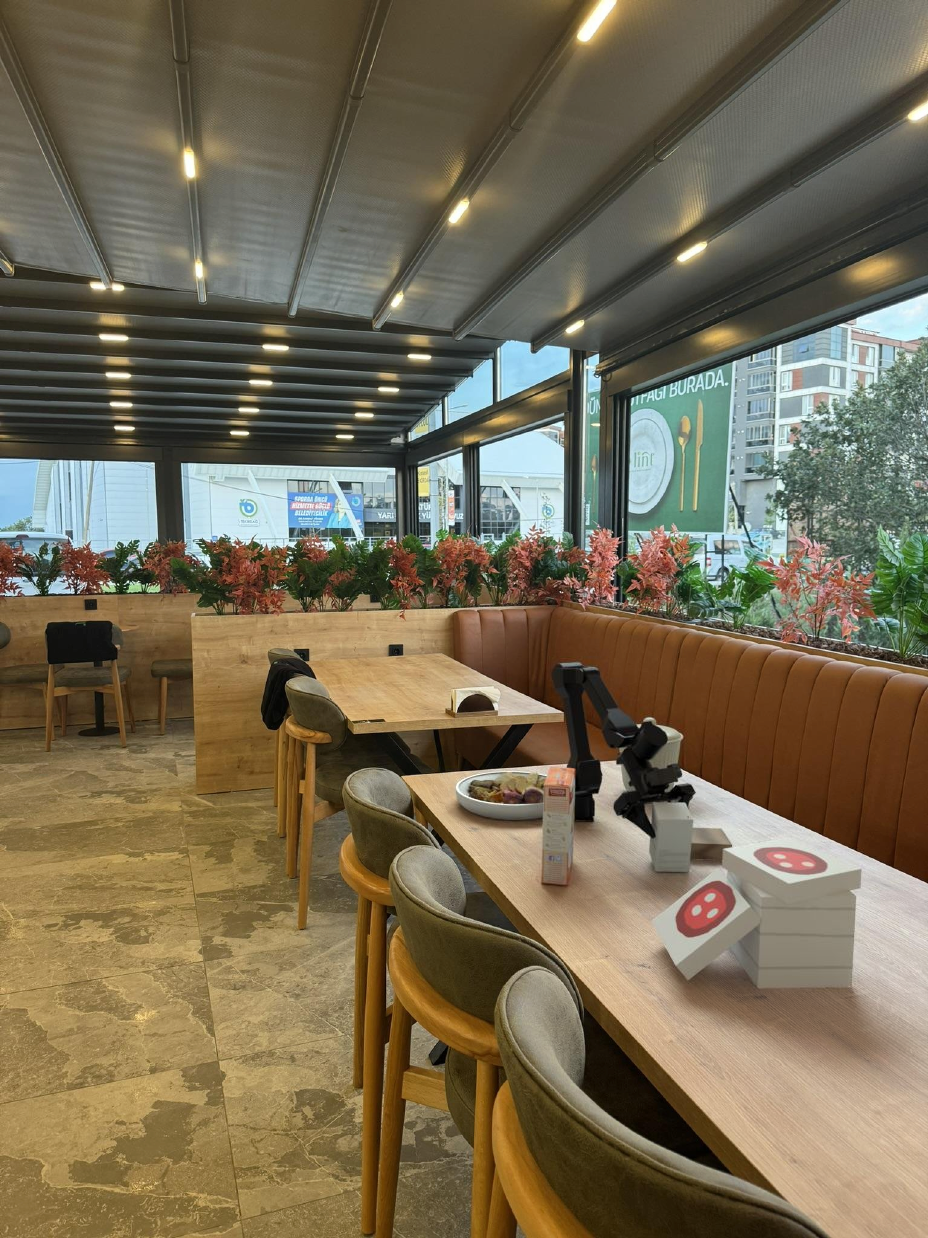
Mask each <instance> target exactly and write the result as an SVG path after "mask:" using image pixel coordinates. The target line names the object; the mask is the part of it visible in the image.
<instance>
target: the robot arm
mask: <svg viewBox="0 0 928 1238" xmlns="http://www.w3.org/2000/svg"><path fill="white" fill-rule="evenodd" d="M550 673H551V674H550V676H551V679H552V683H553V687H554V690H555V691H556V692H557V694H558V695H559V697H561V698H562V703H563V710H564V717H565V723H566V732H567V739H568V745H569V751H570V752H569V753H570V756H569V759H568V762H567V764H566V767H565V768H574V769H575V807H574V822H594V821H595V819H594V817H595V815H596V800H595V799H594V797H593V795H595V794H596V795H597V794H599V793H600V789H601V787H602V786H601V785H602V781H603V776H604V774H603V772H602V767H601V766H602V765H601V761H600V759H597V758H595V757H594V756H593V755H592V752H591V746H590V742H589V741H590V740H589V732H588V728H587V720H586V713H585V707H584V706H585V705H584V701H583V694H584V692H585V694H586V696H587V698H588V699H589V702H590V703H591V704H592V707H593V708H594V710H595V711H596V713H597V715H598V717H599V718H600V721H601V733H602V735H603V738H604V741H605V743H606V744H607V746H608V747H609V748H610V749H614V750H617V749H619V748H625V747H627V748H625V749H624V750H623V752H620V751H619V752H618V753H617V758H616V760H615V764H616V766H621V764H623V765H624V767H625V770H626V772H627V774H628V776H629V778H630V781H629V782H628V784H629V786H630V787H632V786H634V788H635V790H636V791H629V792H628V791H624V792H622V793H620V795H619V796H618V798H617V799H616V800H615V801H614V803H613V807H612V808H613V811H614V814H615V815H616V816H617V817H619V816H620V817H621V818H622V819H626V820H627V821H629V822H631V823H632V824H633V825H635V826H636V827H637V828H639V829H640V830H641V831H643V832H644V834H646V835H647V837H648V836H649V838H650V837H651V838H652V839H653V838H655V837H656V835H655V832H654V829H653V827H652V825H651V821H650V818H649V817H648V814H647V813H646V805H651V804H652V803H653V802H665V803H686V805H687V807H688V810H689V809H690V808H689V804H690V801H692V799H693V798H694V796H695V794H696V793H697V792H696V790H695V788H694V786H693V785H692V784H691V783H679V784H674V787H673V788H672V789H671V790H670V792H665V789H668V788H669V783H672V782H674V783H678V782H679V779H680V778H682V777H683V773H682V771H683V770H682V768H681V767H680V766H679V764H677V763H674V764H670V765H667V768H662V769H659V768H657V767H654V768H653V766H652V765H651V763H650V761H649V760H651V759H653V758H654V757H655V756H656V755H657V754H658V753H659V752H660V750H661V749H662V748H663V747H664V746H665V745H666V743H667V741H668V737H667V734H666V732H665V731H663V730H662V729H661V728H660V727H658V726H656V725H657V724H656V725H653V724H652V722H651V721H645V722H642V723H640V724H641V727H640V728H638V726H637V724H636V722H635V721H634V720H633V718H631V716H630V715H628V714H626V713H625V712H623V711H622V710H621V709H620V707H619V706H618V704H617V703H616V700H614V698H613V696H612V694H611V693H610V691H609V689H608V688H607V686H606V684H605V682H604V681H603V679H602V678H601V673H600V670H599V669H598V668H597V667H595V666H589V665H587V666H586V665H583V664H582V663H581V662H579V661H574V662H562V663H561V662H560V663H556V664H555V665H554V667H553V668H552V670H551V672H550ZM689 811H690V810H689Z"/></svg>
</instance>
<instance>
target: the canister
mask: <svg viewBox="0 0 928 1238" xmlns="http://www.w3.org/2000/svg"><path fill="white" fill-rule="evenodd" d="M645 721H651V722H652V724H653V725H656V726H658V727H660V728H661V729H662V730H663V731H665V732H666V734H667V737H668V741H667V743H666V745H665V746H664V747H663V748H662V749H661V750H660V752H659V753H658V754H657V755H656V756H655V757H654V758H653V759H651V760H649V761H650V763H651V765H652V766H653V768H654V767H657V768H659V769H662V768H667V765H670V764H674V763H677V764H678V763H679V758H680V757H679V755H680V750H681V742H682V740H683V739H684V735H683V734H682V733H681V732H679V731H677V730H676V729H675V728H672V727H670V726H665V725H659V724H657V720H656V719H655V718H654V717H645V718H643V722H645ZM643 722H642V723H643ZM642 723H640V724H638V723H637V724H636V725H637V726H638V728H640V727H641V724H642ZM625 748H627V747H625ZM625 748H618V749H619V753H620V752H623V750H624V749H625ZM678 765H679V764H678ZM620 769H621V770H620V771H621V778H622V783H623V787H624V788H625V790H626V792H629V791H636V790H635V788H634V786H632V787H630V786H629V784H628V782H629V781H630V778H629V776H628V774H627V772H626V770H625V767H624V765H623V764H620ZM674 786H675V782H672V783H669V788H668V789H665V792H670V790H671V789H672V788H673V787H674Z"/></svg>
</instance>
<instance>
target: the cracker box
mask: <svg viewBox="0 0 928 1238" xmlns="http://www.w3.org/2000/svg"><path fill="white" fill-rule="evenodd" d="M546 775H547V777H546V780H545V783H544V791H543V817H542V838H541V840H542V841H541V842H542V844H541V847H542V848H541V884H546V885H548V884H549V885H556V886H565V887H567V886H569V881H570V878H571V871H572V866H573V861H574V859H573V858H574V838H575V837H574V834H575V833H574V831H575V821H574V807H575V769H574V768H566V767H561V766H549V770H548V772H547V774H546Z"/></svg>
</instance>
